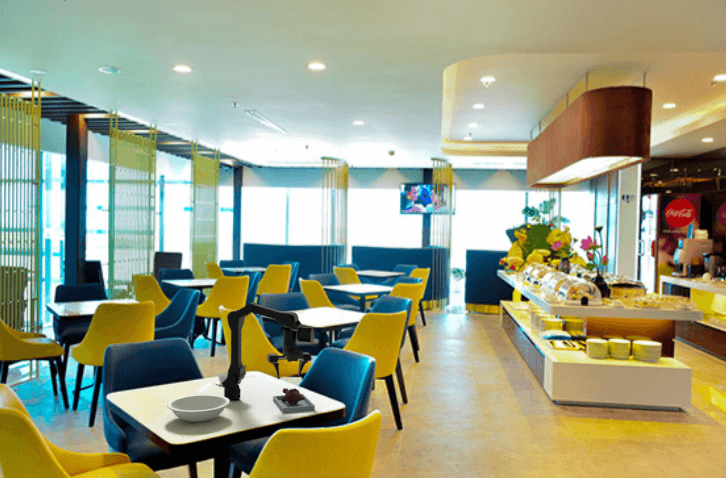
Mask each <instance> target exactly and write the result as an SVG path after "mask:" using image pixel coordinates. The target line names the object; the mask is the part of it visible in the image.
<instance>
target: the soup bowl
mask: <svg viewBox="0 0 726 478" xmlns="http://www.w3.org/2000/svg"><path fill="white" fill-rule="evenodd" d="M230 403H231V401H230V400H229V399H228V398H226V397H224V395H218V394H217V395H216V394H193V395H191V394H190V395H186V396H185V395H184V396H180V397H178V398H175V399H171V400H170V401H168V403H167V405H166V407H167V408H168V409H169V410H171V412H172V413H173V415H175V416H176V417H177V418H178V419H180V420H183V421H186V422H194V423H195V422H196V423H197V422H206V421H209V420H212V419H215V418H217V417H218V416H220V415H221V413H222V412H224V410H225V408H226V407H227V406H229V405H230Z"/></svg>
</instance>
